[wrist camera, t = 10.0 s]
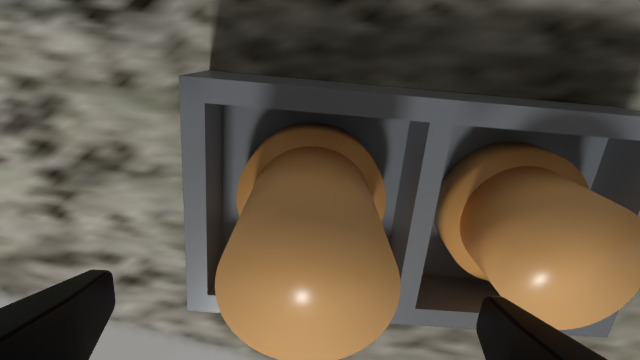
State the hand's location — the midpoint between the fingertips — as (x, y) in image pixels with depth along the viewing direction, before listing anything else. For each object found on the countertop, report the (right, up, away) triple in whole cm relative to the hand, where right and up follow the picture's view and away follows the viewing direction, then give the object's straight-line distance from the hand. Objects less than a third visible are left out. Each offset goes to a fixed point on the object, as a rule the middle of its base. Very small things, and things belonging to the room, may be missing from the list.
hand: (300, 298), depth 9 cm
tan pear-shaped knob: (0, +2, +7) cm, 7 cm away
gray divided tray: (+4, +2, +8) cm, 9 cm away
